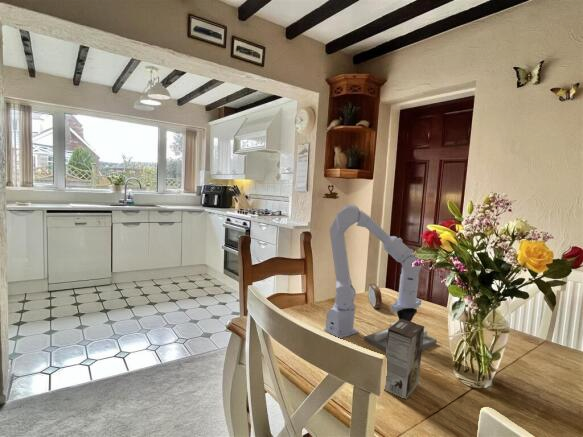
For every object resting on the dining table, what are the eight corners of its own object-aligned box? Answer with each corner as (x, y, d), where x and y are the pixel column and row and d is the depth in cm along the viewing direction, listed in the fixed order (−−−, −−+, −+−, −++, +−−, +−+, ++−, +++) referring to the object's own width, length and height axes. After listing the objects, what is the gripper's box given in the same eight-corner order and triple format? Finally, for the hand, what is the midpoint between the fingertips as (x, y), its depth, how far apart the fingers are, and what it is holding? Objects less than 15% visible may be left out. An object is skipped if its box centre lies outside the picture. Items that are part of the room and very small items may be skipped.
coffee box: (395, 374, 90) (401, 317, 89) (418, 384, 86) (425, 325, 85) (381, 389, 83) (387, 327, 82) (406, 401, 79) (413, 336, 78)
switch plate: (400, 360, 98) (402, 348, 98) (364, 340, 109) (365, 330, 109) (436, 344, 111) (437, 334, 110) (400, 328, 122) (401, 318, 121)
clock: (381, 311, 137) (383, 291, 136) (373, 311, 137) (375, 291, 137) (373, 299, 152) (375, 281, 151) (366, 298, 152) (368, 280, 151)
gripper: (406, 296, 101) (401, 338, 103) (431, 289, 110) (426, 328, 112) (387, 289, 107) (382, 330, 108) (412, 284, 116) (408, 321, 117)
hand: (404, 328), depth 110 cm, fingers closed
